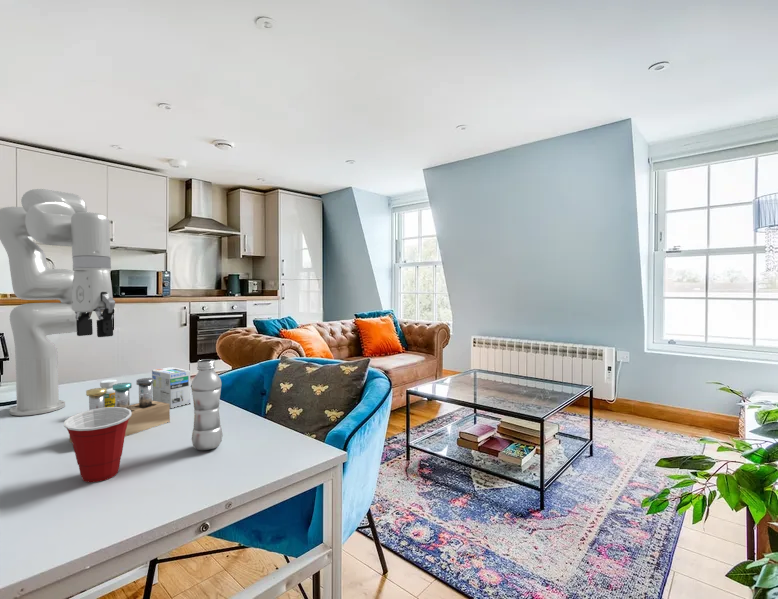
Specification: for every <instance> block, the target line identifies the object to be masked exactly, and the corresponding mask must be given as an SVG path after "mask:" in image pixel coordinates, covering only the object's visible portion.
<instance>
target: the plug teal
mask: <svg viewBox="0 0 778 599" xmlns="http://www.w3.org/2000/svg"><path fill="white" fill-rule="evenodd" d="M131 388H132V382H117V384H114V385H113V390H115V407H121V408H127V409H129V410H130V389H131Z"/></svg>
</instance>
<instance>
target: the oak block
mask: <svg viewBox="0 0 778 599" xmlns="http://www.w3.org/2000/svg"><path fill="white" fill-rule="evenodd" d="M130 410H131V413H132V415H131V417H130V418H129V420H128V424H127V429H126V432H125V437H128V436H130V435H131V436H132V435H134V434H137V433H140V431H141V432H143V430H144V431H148V430H149V428H150V429H153V428H156V427H158V426H162V425H165V424H168V423H171V422H170V421H171V416H170V415H171V414H170V413H171V411H170V410H171V409H170V405H169V404H168V403H163V402H158V401H153V399H152V406H151V407H148V408H144V409H142V408H139V402H138V403H135V404H131V405H130ZM167 422H168V423H167ZM164 423H165V424H164ZM161 424H162V425H161ZM155 426H156V427H155ZM152 427H153V428H152ZM68 434H69V433H68ZM68 437H69V443H70V444H73V443H72V439H71V437H70V434H69V435H68Z"/></svg>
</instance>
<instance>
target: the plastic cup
mask: <svg viewBox="0 0 778 599" xmlns="http://www.w3.org/2000/svg"><path fill="white" fill-rule="evenodd" d="M131 415H132V413H131V410H129V409H127V408H121V407H106V408H99V409H92V410H85V411H81V412H79V413H75V414H74V415H72V416H70V417H68V418H66V419H65V420H64V422H63V427H64V428H65V429H66V430H67V432H68V434H70V437H71V439H72V443H71V444H72V447H73V450H74V454H75V459H76V464H77V465H78V469H79V473H80V477H81V479H82V481H83V482H85V483H98V482H103V481H105V480H109V479H111V478H113V477H115V476H117V474H118V473H119V470H120V465H121V459H122V456H123V450H124V444H125V437H126V436H125V432H126V429H127V424H128V420H129V418H130V417H131Z"/></svg>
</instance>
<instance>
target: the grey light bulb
mask: <svg viewBox="0 0 778 599" xmlns="http://www.w3.org/2000/svg"><path fill="white" fill-rule="evenodd" d="M135 382H136V384H135V385H137V386H138V403H139V408H142V409H144V408H148V407H151V406H152V400H153V393H152V383H154V378H152V377H143V378H138V379H136V381H135Z"/></svg>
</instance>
